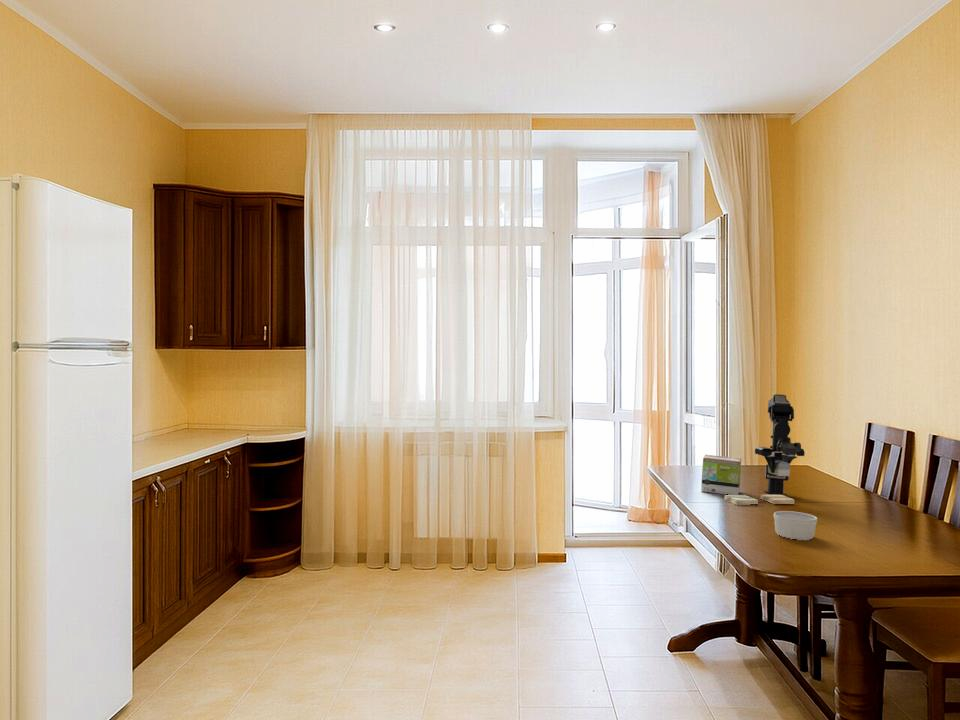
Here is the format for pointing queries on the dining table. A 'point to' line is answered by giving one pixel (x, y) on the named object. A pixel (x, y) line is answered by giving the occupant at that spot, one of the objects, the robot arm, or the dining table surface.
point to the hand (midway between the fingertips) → (778, 472)
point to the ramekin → (795, 525)
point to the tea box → (721, 474)
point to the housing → (780, 468)
